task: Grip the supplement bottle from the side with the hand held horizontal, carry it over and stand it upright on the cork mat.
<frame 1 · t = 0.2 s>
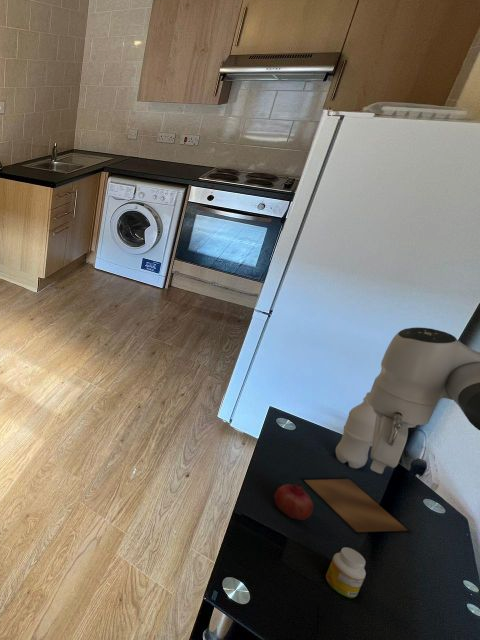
hand: (377, 458, 85), 33 cm above the table, tool pointing down, fingers open, 8 cm apart
fruit: (289, 514, 109), on the table
supplement bottle: (339, 587, 92), on the table
water bottle: (347, 462, 127), on the table
cork mat: (351, 505, 112), on the table
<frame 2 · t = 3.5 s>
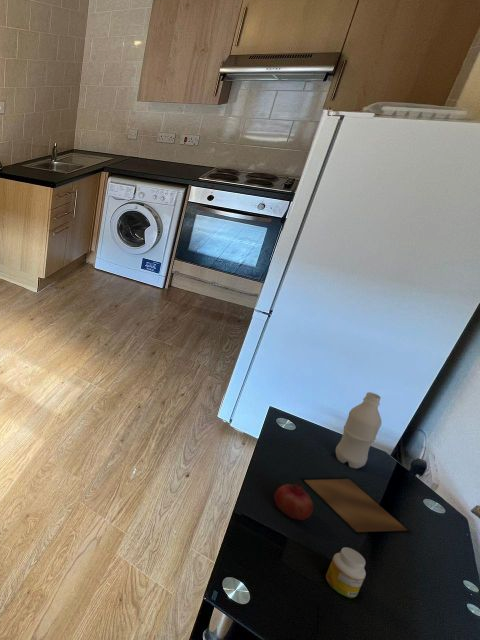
nothing on the table moved.
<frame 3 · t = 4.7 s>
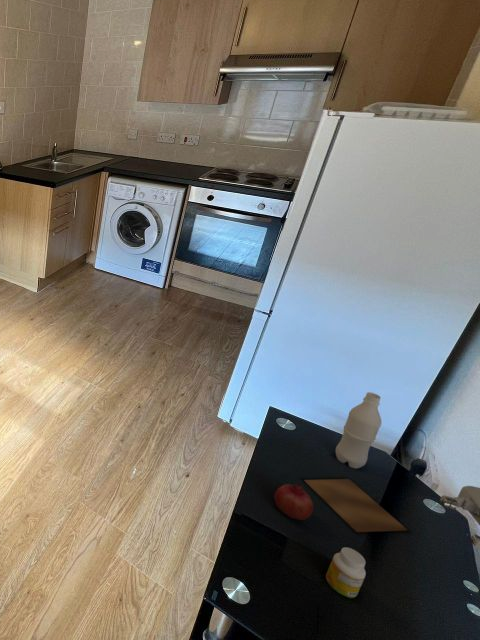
hand: (457, 519, 79), 27 cm above the table, tool horizontal, fingers open, 8 cm apart
nothing on the table moved.
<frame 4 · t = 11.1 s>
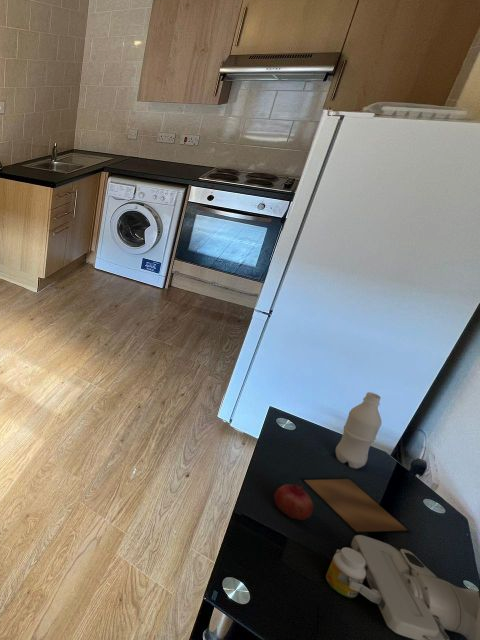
hand: (342, 567, 91), 6 cm above the table, tool horizontal, fingers closed on supplement bottle, 5 cm apart
supplement bottle: (340, 587, 92), on the table, touching gripper
everything else where it was.
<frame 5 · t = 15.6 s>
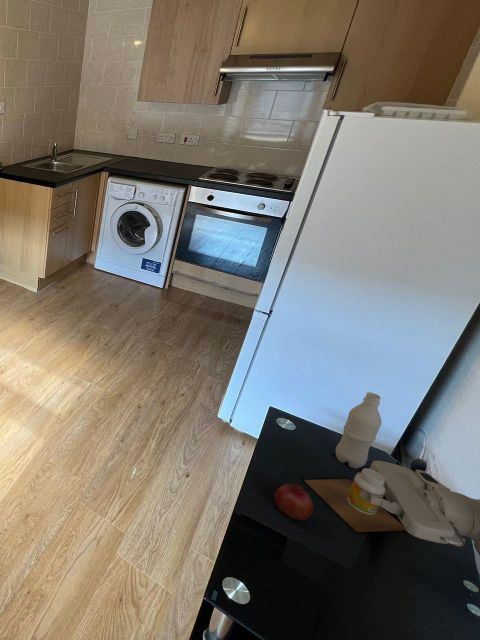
hand: (363, 486, 98), 17 cm above the table, tool horizontal, fingers closed on supplement bottle, 5 cm apart
supplement bottle: (360, 506, 99), point 11 cm above the table, touching gripper
everything else where it was.
when the fingers open (7 cm above the table, at t = 20.6 s): supplement bottle stays where it is, resting on cork mat.
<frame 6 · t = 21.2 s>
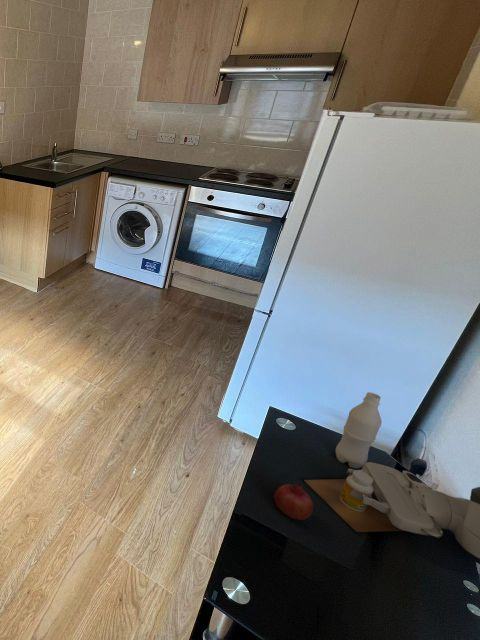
hand: (355, 484, 110), 7 cm above the table, tool horizontal, fingers open, 8 cm apart
supplement bottle: (351, 504, 112), point 1 cm above the table, touching cork mat
everything else where it was.
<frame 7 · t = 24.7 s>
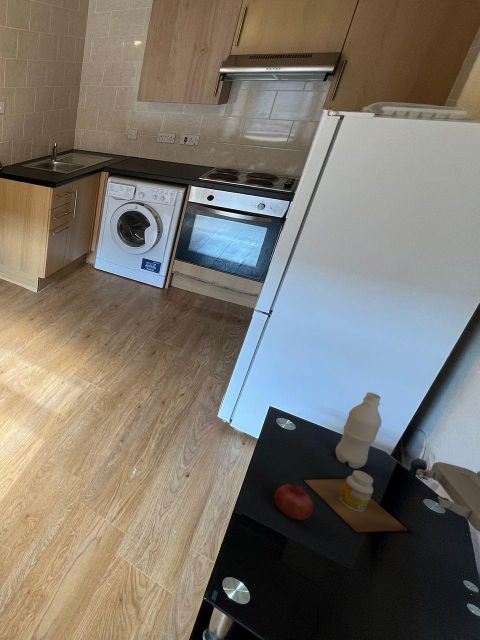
hand: (427, 486, 103), 13 cm above the table, tool horizontal, fingers open, 8 cm apart
nothing on the table moved.
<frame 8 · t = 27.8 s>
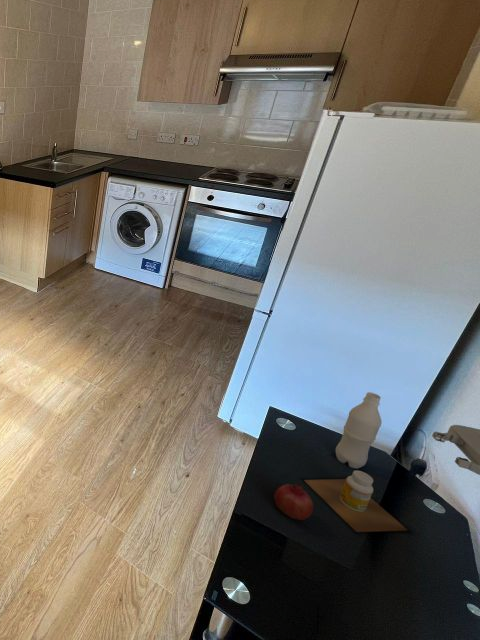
hand: (445, 448, 100), 25 cm above the table, tool horizontal, fingers open, 8 cm apart
nothing on the table moved.
at the end: supplement bottle inside the target area on the cork mat (0.3 cm from its centre), point 0.8 cm above the cork mat's base; supplement bottle tilted 0°; the gripper is holding nothing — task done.
